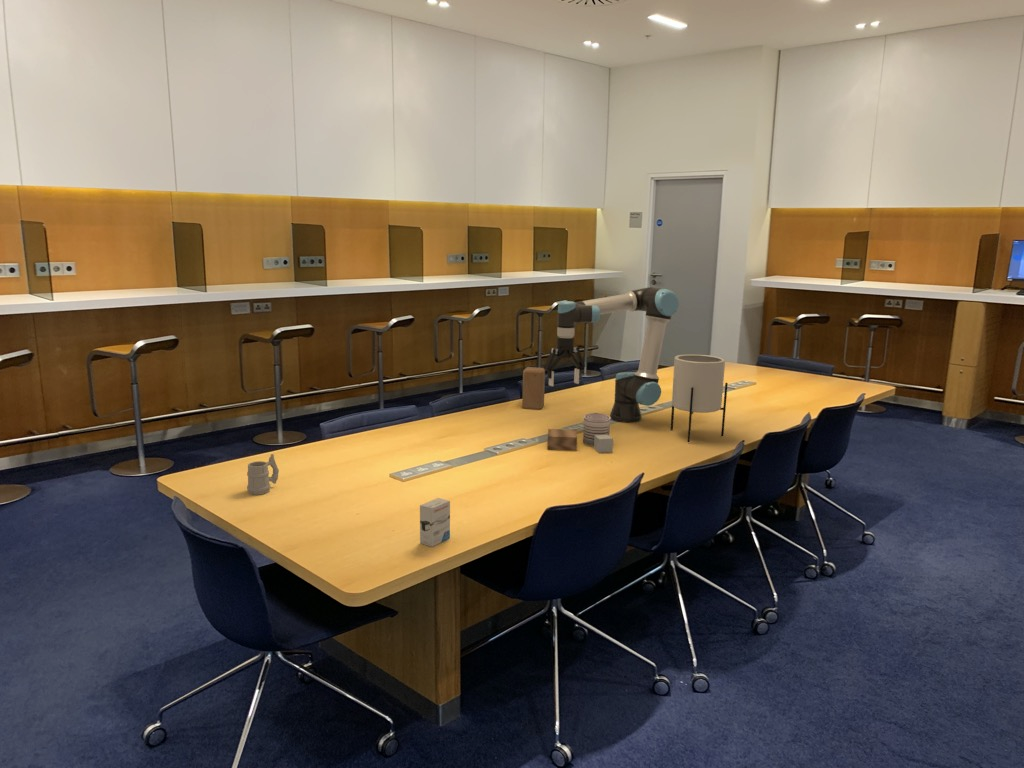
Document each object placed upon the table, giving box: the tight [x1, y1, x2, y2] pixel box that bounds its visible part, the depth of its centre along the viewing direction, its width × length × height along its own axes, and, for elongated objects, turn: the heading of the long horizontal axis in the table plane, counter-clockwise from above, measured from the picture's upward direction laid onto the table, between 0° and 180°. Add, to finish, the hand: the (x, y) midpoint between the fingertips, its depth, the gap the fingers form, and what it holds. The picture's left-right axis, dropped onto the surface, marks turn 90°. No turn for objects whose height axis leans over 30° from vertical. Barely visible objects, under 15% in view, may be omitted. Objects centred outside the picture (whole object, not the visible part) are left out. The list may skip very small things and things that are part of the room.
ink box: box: [419, 497, 451, 548], centre depth 223 cm, size 8×5×12 cm, turn 145°
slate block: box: [593, 435, 614, 454], centre depth 318 cm, size 6×6×6 cm
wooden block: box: [521, 366, 546, 410], centre depth 390 cm, size 10×10×20 cm
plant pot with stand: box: [670, 353, 728, 442], centre depth 339 cm, size 24×24×36 cm
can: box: [582, 412, 612, 447], centre depth 328 cm, size 11×11×12 cm
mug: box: [246, 453, 279, 496], centre depth 262 cm, size 8×12×12 cm, turn 143°
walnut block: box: [547, 428, 578, 452], centre depth 323 cm, size 12×12×6 cm
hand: (563, 384), depth 338 cm, fingers open, 13 cm apart
